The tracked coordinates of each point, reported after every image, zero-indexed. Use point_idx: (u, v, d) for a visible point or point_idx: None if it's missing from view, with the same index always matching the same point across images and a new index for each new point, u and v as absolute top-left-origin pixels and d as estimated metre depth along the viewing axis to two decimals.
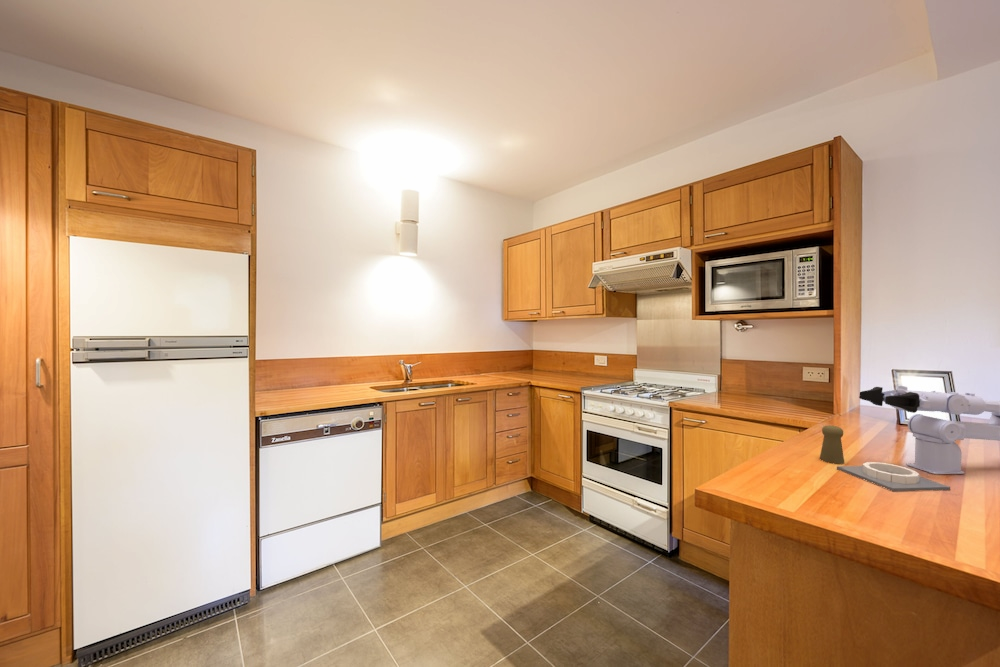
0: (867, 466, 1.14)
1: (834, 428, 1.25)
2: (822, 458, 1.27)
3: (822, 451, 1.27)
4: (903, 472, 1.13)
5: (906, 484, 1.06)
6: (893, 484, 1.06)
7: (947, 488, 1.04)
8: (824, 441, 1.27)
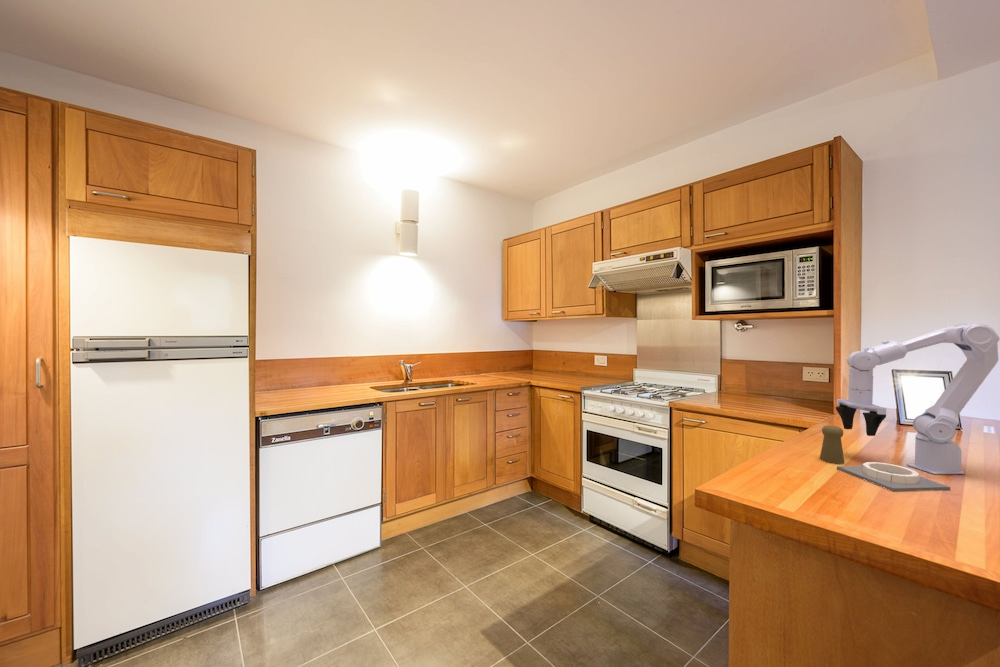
0: (867, 466, 1.14)
1: (834, 428, 1.25)
2: (822, 458, 1.27)
3: (822, 451, 1.27)
4: (903, 472, 1.13)
5: (906, 484, 1.06)
6: (893, 484, 1.06)
7: (947, 488, 1.04)
8: (824, 441, 1.27)
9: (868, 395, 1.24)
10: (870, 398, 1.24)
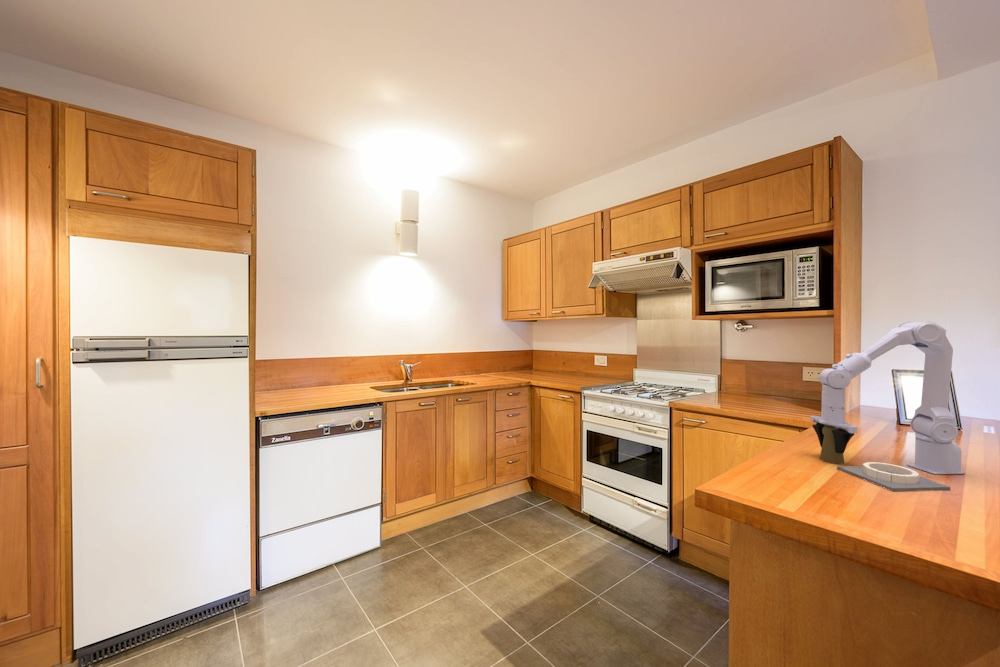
0: (867, 466, 1.14)
1: (834, 428, 1.25)
2: (822, 458, 1.27)
3: (822, 451, 1.27)
4: (903, 472, 1.13)
5: (906, 484, 1.06)
6: (893, 484, 1.06)
7: (947, 488, 1.04)
8: (824, 441, 1.27)
9: (840, 413, 1.24)
10: (842, 416, 1.24)
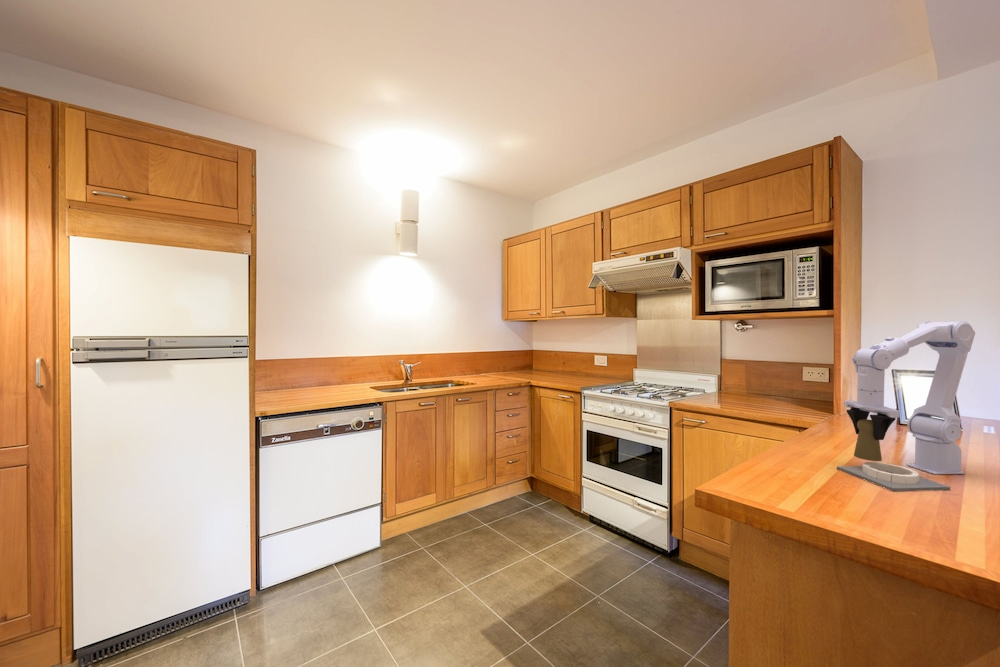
0: (867, 466, 1.14)
1: (871, 422, 1.15)
2: (857, 454, 1.17)
3: (857, 447, 1.18)
4: (903, 472, 1.13)
5: (906, 484, 1.06)
6: (893, 484, 1.06)
7: (947, 488, 1.04)
8: (859, 436, 1.17)
9: (879, 397, 1.14)
10: (881, 400, 1.14)
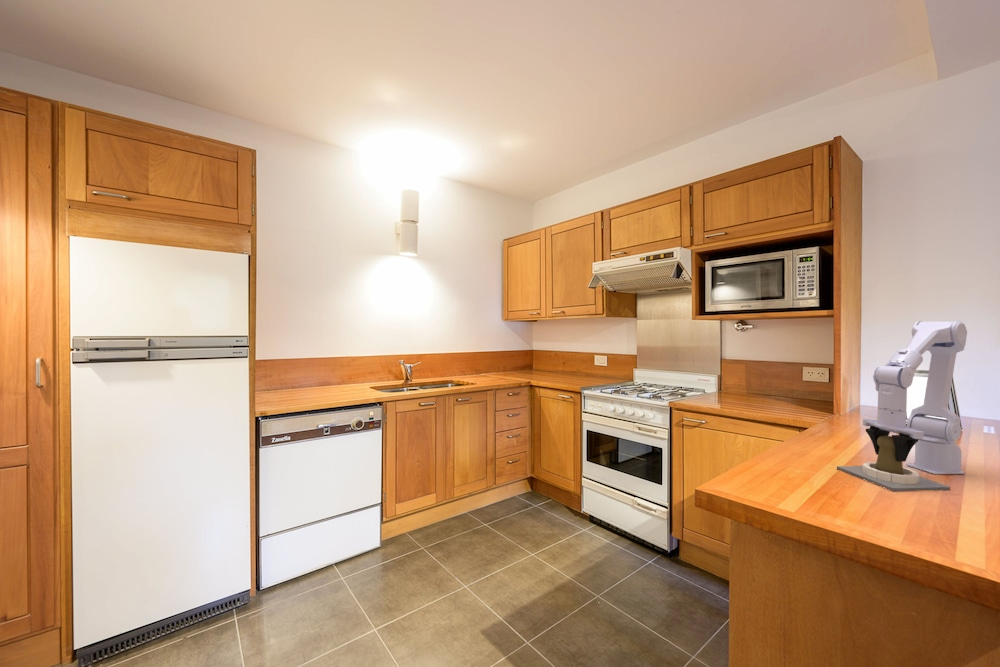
0: (867, 466, 1.14)
1: None
2: None
3: (878, 465, 1.12)
4: (903, 472, 1.13)
5: (906, 484, 1.06)
6: (893, 484, 1.06)
7: (947, 488, 1.04)
8: (880, 454, 1.12)
9: (902, 416, 1.09)
10: (903, 419, 1.09)
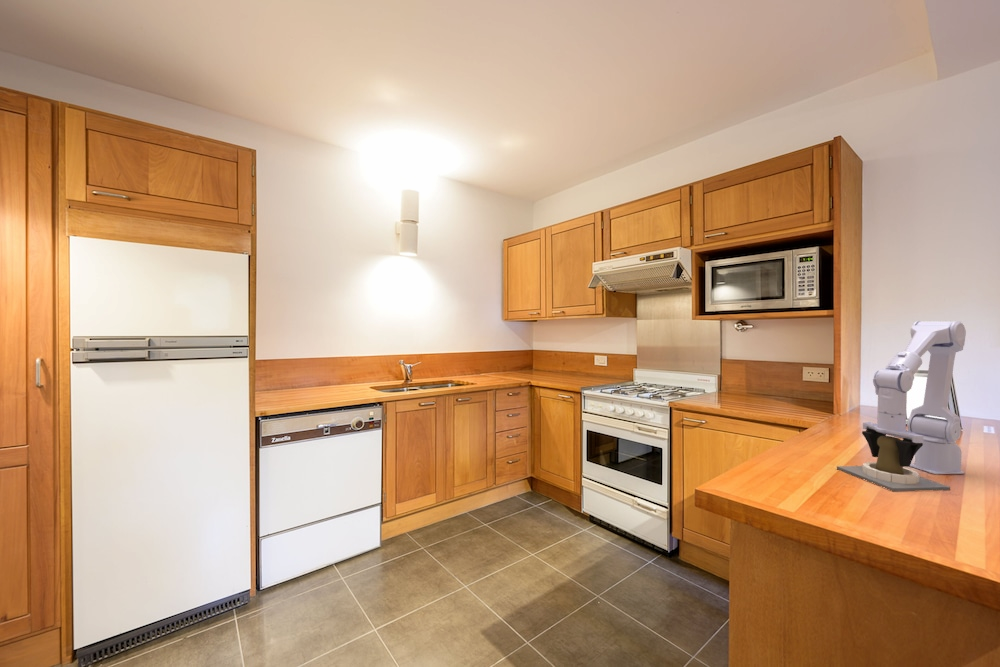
0: (867, 466, 1.14)
1: (893, 439, 1.10)
2: None
3: (878, 465, 1.12)
4: None
5: (906, 484, 1.06)
6: (893, 484, 1.06)
7: (947, 488, 1.04)
8: (880, 454, 1.12)
9: (901, 420, 1.09)
10: (903, 423, 1.09)
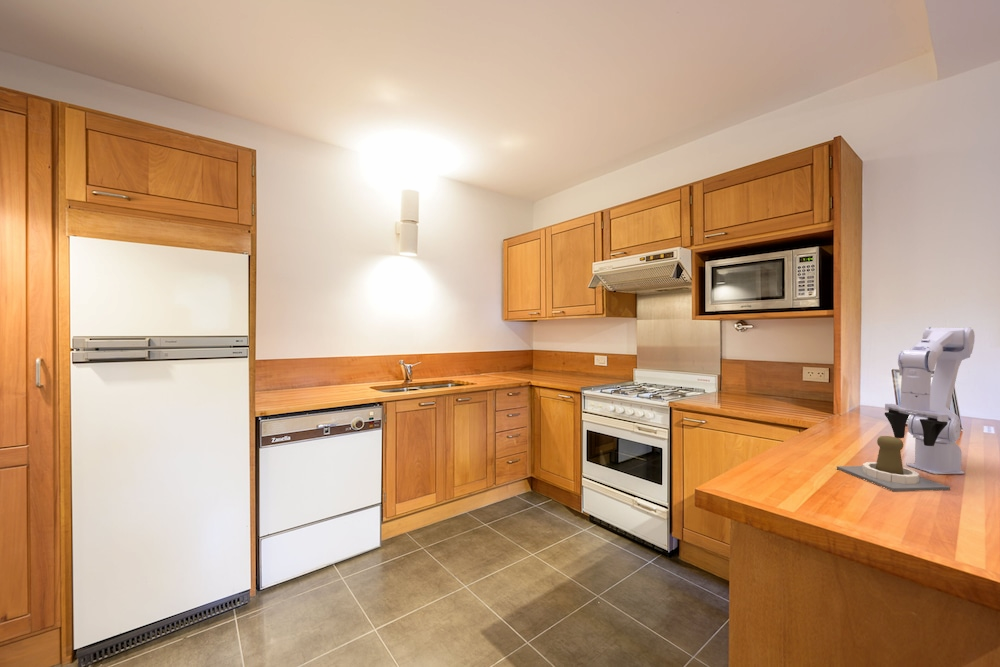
0: (867, 466, 1.14)
1: (893, 439, 1.10)
2: None
3: (878, 465, 1.12)
4: None
5: (906, 484, 1.06)
6: (893, 484, 1.06)
7: (947, 488, 1.04)
8: (880, 454, 1.12)
9: (926, 400, 1.09)
10: (928, 403, 1.09)
